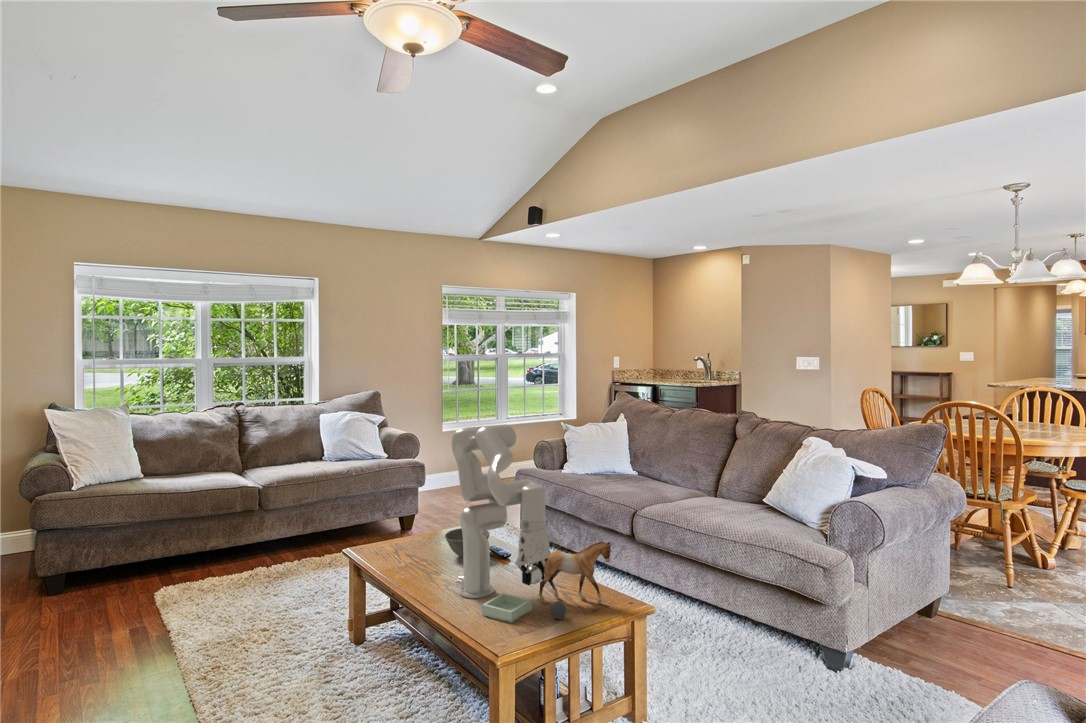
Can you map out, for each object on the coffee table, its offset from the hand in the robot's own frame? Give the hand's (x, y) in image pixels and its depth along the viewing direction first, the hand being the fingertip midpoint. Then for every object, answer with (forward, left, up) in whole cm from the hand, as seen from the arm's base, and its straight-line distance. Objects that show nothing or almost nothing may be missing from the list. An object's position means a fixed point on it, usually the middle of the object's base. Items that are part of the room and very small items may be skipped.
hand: (533, 580), depth 204 cm
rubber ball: (+2, +11, -15) cm, 19 cm away
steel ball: (0, 0, -1) cm, 1 cm away
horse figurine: (-4, +28, -16) cm, 32 cm away
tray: (-15, +6, -15) cm, 22 cm away
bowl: (-63, +44, -16) cm, 78 cm away
